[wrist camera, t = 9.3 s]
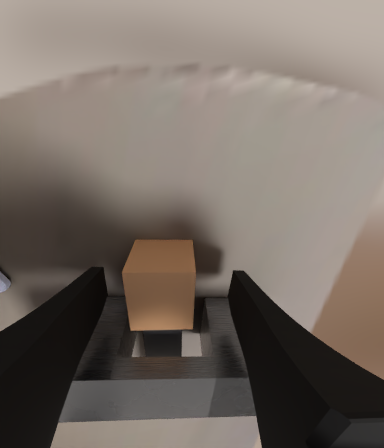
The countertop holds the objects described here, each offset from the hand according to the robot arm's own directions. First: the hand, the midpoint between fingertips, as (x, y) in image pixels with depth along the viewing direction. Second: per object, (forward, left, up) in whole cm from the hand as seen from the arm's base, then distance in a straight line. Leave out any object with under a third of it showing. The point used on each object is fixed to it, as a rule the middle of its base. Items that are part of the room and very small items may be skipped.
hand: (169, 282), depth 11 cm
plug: (+4, -2, -2) cm, 5 cm away
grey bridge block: (+4, -2, -2) cm, 5 cm away
